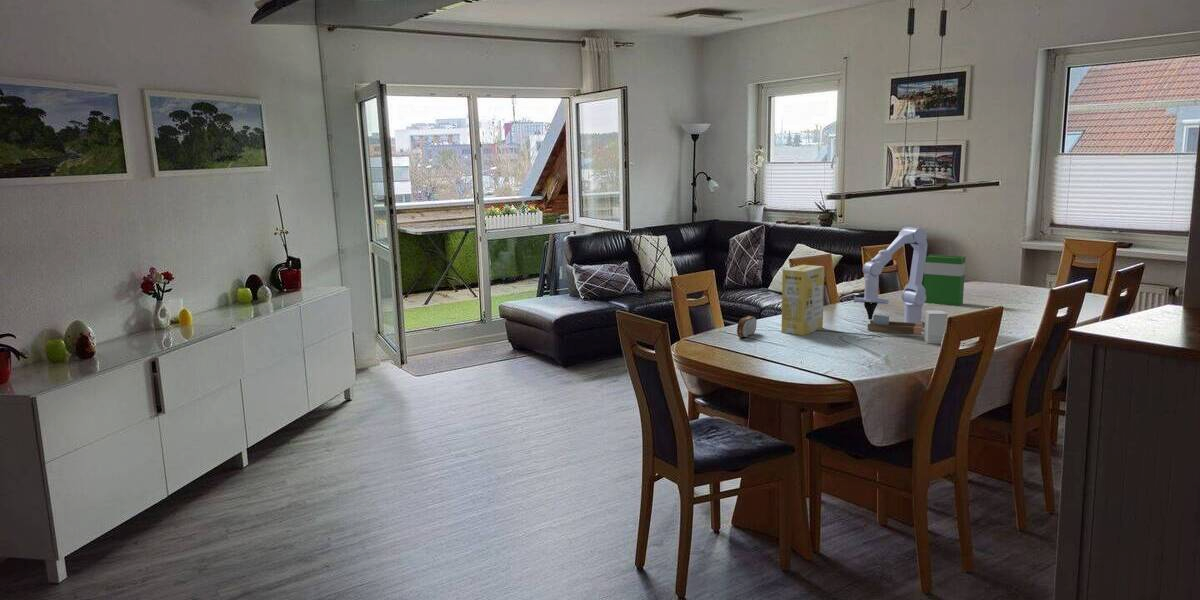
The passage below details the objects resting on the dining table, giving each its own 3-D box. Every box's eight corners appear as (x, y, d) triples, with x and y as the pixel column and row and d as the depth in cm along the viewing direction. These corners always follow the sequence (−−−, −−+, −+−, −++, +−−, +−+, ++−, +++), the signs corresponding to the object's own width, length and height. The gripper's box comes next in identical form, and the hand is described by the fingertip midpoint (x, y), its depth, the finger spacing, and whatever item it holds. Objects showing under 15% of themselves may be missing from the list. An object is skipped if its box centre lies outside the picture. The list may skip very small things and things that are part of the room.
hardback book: (922, 302, 416) (924, 256, 411) (926, 300, 421) (929, 254, 417) (958, 306, 405) (961, 258, 400) (962, 303, 411) (965, 256, 406)
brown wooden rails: (870, 326, 365) (870, 320, 364) (922, 330, 355) (922, 323, 355) (867, 330, 356) (867, 324, 356) (921, 334, 347) (921, 327, 347)
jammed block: (874, 327, 362) (874, 314, 361) (888, 328, 360) (889, 314, 359) (872, 330, 357) (873, 316, 356) (887, 330, 355) (887, 317, 353)
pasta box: (801, 324, 371) (802, 264, 366) (822, 327, 365) (824, 266, 359) (781, 332, 358) (782, 269, 353) (803, 335, 351) (804, 271, 346)
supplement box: (946, 344, 330) (947, 313, 328) (926, 343, 332) (928, 313, 329) (942, 339, 337) (943, 310, 335) (923, 339, 339) (924, 309, 337)
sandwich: (751, 332, 360) (751, 313, 358) (757, 333, 358) (757, 314, 356) (736, 339, 348) (736, 320, 346) (742, 340, 346) (743, 320, 344)
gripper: (853, 289, 357) (852, 319, 359) (887, 291, 350) (886, 322, 353) (855, 287, 363) (854, 316, 365) (889, 288, 357) (888, 318, 359)
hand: (870, 319), depth 360 cm, fingers closed
